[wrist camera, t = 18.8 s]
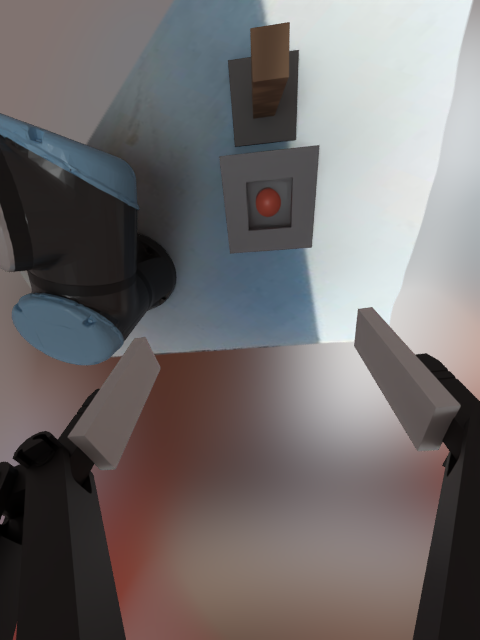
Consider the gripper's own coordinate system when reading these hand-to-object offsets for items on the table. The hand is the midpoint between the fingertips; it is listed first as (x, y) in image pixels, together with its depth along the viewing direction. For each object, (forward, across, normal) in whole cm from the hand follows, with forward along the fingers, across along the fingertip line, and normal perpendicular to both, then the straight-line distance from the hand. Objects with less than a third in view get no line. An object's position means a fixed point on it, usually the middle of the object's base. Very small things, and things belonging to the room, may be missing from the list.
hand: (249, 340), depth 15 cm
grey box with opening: (+32, +4, +4) cm, 33 cm away
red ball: (+30, +4, +4) cm, 31 cm away
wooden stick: (+32, +5, +16) cm, 36 cm away
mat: (+32, +5, +16) cm, 37 cm away
